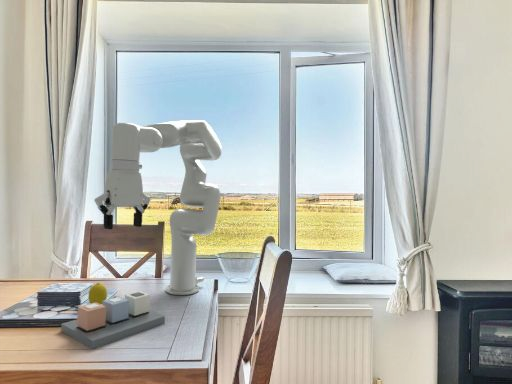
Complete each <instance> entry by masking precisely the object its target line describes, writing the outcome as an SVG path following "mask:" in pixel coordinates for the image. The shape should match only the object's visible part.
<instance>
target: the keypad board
mask: <svg viewBox="0 0 512 384" xmlns="http://www.w3.org/2000/svg"><path fill="white" fill-rule="evenodd" d="M77 319H78V318H77ZM77 319H74V320H70V321H67V322H63V323H61V328H60V329H61V332H62V333H63V334H66V335H67V336H69V337H71V338H72V339H74V340H76V341H78V342H79V343H81V344H83V345H85V346H87V347H88V348H89V349H92V350H93V349H97V348H99V347H101V346H105V345H107V344H110V343H113V342H116V341H118V340H121V339H124V338H126V337H129V336H133V335H135V334H138V333H140V332H143V331H147V330H149V329H151V328H155V327H157V326H159V325H163V324H165V323H166V322H165V321H166V320H165V319H166V315H163V314H160V313H157V312H155V311H153V310H150V309H149V311H148V312H145V313H142V314H139V315H136V316H134V315H131V314H128V318H126V319H123V320H120V321H117V322H113V323H111V322H109V321H107V320H106V321H105V325H104V326H101V327H98V328H94V329H91V330H88V331H87V330H85V329H83V328H81V327H79V326H77ZM92 330H93V331H92Z"/></svg>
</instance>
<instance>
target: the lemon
mask: <svg viewBox="0 0 512 384" xmlns="http://www.w3.org/2000/svg"><path fill="white" fill-rule="evenodd" d="M87 298H88V301H89V304H91V303H95V302H96V303H99V304H102V305H103V300H107V299H108V290H107V287H106V286H105V285H104V284H102V283H100V282H97V283H95V284H94V285H93V286H91V288H90V289H89V292H88V297H87Z"/></svg>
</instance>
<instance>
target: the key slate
mask: <svg viewBox="0 0 512 384" xmlns="http://www.w3.org/2000/svg"><path fill="white" fill-rule="evenodd" d="M102 305H104V306H106V320H107V321H109V322H111V323H112V324H114V323H113V322H115V323H118V322H119V321H120V320H123V319H126V318H128V314H129V300H127V299H125V297H124V298H123V297H121V296H116V297H111V298H109V299H108V298H107V299H106V300H103V304H102ZM117 321H118V322H117Z"/></svg>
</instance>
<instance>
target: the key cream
mask: <svg viewBox="0 0 512 384" xmlns="http://www.w3.org/2000/svg"><path fill="white" fill-rule="evenodd" d="M124 299H127V300H129V314H131V315H134V317H137V316H140V315H139V314H142V313H145V312H148V311H149V310H150V294H148V293H146V292H143V291H135V292H131V293H127V294H125V295H124ZM136 315H137V316H136Z"/></svg>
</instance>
